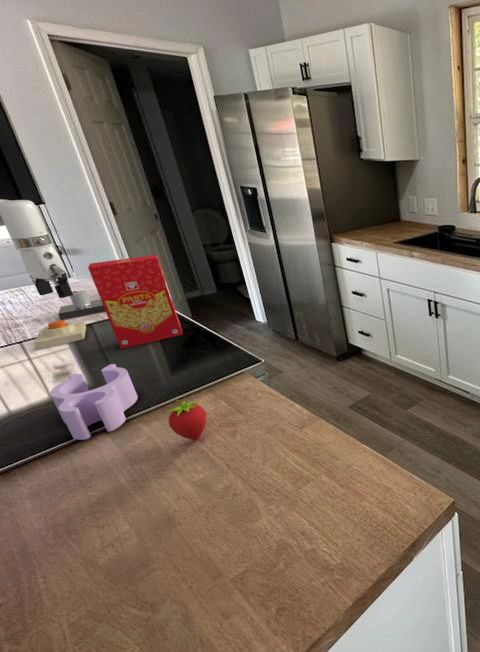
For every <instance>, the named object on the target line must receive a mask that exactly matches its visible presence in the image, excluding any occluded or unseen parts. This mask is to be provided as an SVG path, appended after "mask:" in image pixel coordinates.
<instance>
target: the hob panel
mask: <svg viewBox="0 0 480 652" xmlns="http://www.w3.org/2000/svg"><path fill="white" fill-rule="evenodd" d="M90 302H91V305H89V306H86V307H81V308H75V307H74V305H73V303H71V304H67V305H62V306H60V308H59V310H58V313H57V315H58V317H59V320H64V321H65V320H70V319H75V318H80V317H85V316H90V315H96V314H100V313H106V311H105V308H104V306H103V303H102V301H101V299H95V300H90Z"/></svg>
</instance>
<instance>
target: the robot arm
mask: <svg viewBox="0 0 480 652" xmlns="http://www.w3.org/2000/svg"><path fill="white" fill-rule="evenodd" d="M0 227H5V228H6V231H7V234H8V235H9V238H10V239H11V241H12V243H13V245H14V247H15V250H16V251H19V253H20V257H21V260H22V262H23V264H24V267H25V271H26V272H27V273H28V274H29V275H28V276H29V277H30V278H31V279H32V283H33V284H34V287H35V288H36V290H37V293H38V295H39V296H46V295H49V294H53V293H54V289H55V291H56V293H57V294H56V295H57V296H58V298H59V299H64V298H67V297H70V296H72V295H73V293H72V292H73V290H72V288H71V286H70V283H69V281H68V279H69V278H68V270H67V269H66V267H65V265H64V262H63V261H62V259H61V258H60V257H61V256H60V255H59V254H58V252H57V251H56V249H55V248H54V246H53V243H52V240H51V238H50V236H49V233H48V231H47V229H46V226H45V224H44V222H43V219H42V217H41V214H40V213H39V210H38V208H37V206H36V203H34V202H33V201H31V200H29V199H17V200H15V199H13V200H9V199H1V198H0ZM50 281H51V282H52V283H53V284H54V286H53V287H54V289H53V287H52V284H51V283H50Z"/></svg>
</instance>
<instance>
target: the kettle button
mask: <svg viewBox="0 0 480 652" xmlns="http://www.w3.org/2000/svg"><path fill="white" fill-rule="evenodd" d="M65 322H66V321H65V320H61V319H59V320H54V321H51V322H48V323H47V326H49V328H50V329H57V328H61V327H64V326H66V323H65Z"/></svg>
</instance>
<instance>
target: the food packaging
mask: <svg viewBox="0 0 480 652" xmlns="http://www.w3.org/2000/svg"><path fill="white" fill-rule="evenodd" d="M87 268H88V271H89V273H90V277H91V279H92V282H93V283H94V286H95V289H96V291H97V293H98V296H99V298H100V299H101V301H102V303H103V306H104V308H105V311H106V312H105V314H106V316H107V317H108V318H107V319H108V321H109V323H110V326H111V328H112V330H113V333H114V336H115V338H116V341H117V343H118V346H119V348H120V349H126V348H130V347H135V346H139V345H144V344H148V343H152V342H156V341H161V340H166V339H170V338H173V337H178V336H181V335H182V336H183V329H182V325H181V323H180V319H179V317H178V314H177V310H176V307H175V305H174V301H173V299H172V296H171V292H170V290H169V287H168V284H167V281H166V278H165V275H164V272H163V269H162V266H161V263H160V260H159V257H158V254H150V255H143V256H137V257H129V258H121V259H116V260H115V259H113V260H107V261H99V262H90V263H89V265H88V267H87ZM100 299H99V300H100Z"/></svg>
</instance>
